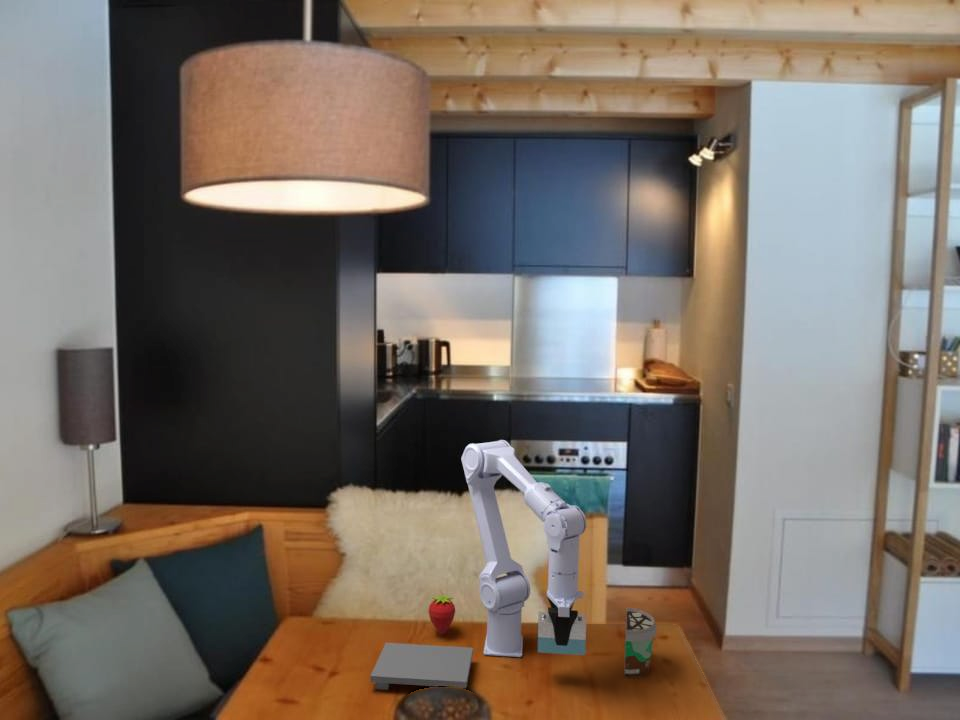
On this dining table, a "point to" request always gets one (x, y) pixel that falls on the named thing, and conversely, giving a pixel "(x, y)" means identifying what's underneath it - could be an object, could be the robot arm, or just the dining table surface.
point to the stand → (422, 665)
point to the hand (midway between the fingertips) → (561, 638)
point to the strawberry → (441, 613)
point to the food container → (638, 642)
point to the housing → (548, 638)
